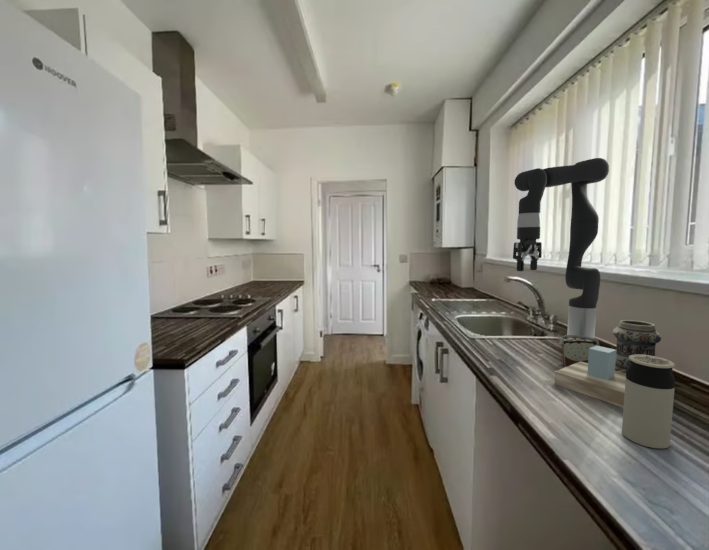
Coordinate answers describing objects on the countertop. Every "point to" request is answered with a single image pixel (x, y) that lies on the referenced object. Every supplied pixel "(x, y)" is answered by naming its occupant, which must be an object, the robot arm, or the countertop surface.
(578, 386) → the birch base
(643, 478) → the countertop surface
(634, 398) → the travel mug
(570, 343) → the food container
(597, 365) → the blue-grey block
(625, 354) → the apothecary jar
